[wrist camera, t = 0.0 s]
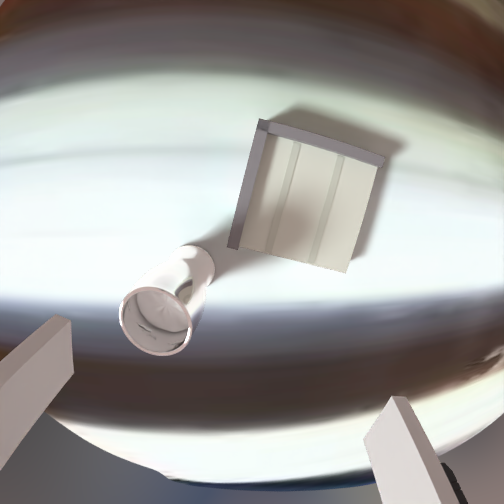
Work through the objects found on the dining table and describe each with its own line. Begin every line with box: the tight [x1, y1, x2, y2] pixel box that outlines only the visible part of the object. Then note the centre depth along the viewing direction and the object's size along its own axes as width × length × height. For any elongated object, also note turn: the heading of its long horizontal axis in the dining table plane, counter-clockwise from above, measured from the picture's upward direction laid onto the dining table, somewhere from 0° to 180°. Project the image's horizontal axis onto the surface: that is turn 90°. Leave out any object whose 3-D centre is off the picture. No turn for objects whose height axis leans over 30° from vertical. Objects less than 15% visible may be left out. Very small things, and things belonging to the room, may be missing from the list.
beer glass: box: [119, 245, 215, 356], centre depth 32 cm, size 7×7×15 cm
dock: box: [227, 119, 385, 273], centre depth 34 cm, size 14×14×4 cm
